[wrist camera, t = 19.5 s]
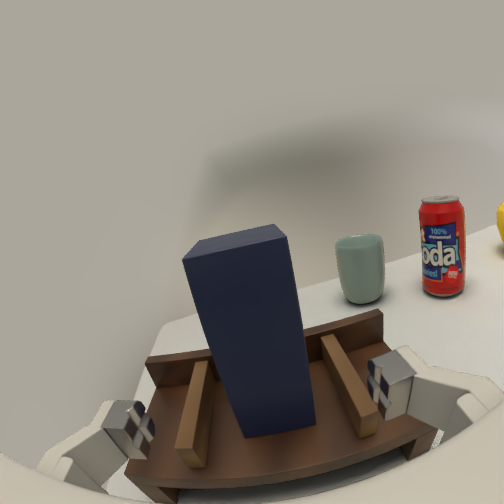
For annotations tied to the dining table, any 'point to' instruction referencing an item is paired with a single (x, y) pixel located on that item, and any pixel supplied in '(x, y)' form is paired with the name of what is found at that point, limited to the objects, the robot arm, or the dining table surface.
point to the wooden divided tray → (274, 445)
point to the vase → (500, 220)
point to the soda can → (443, 245)
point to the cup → (361, 267)
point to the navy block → (254, 327)
